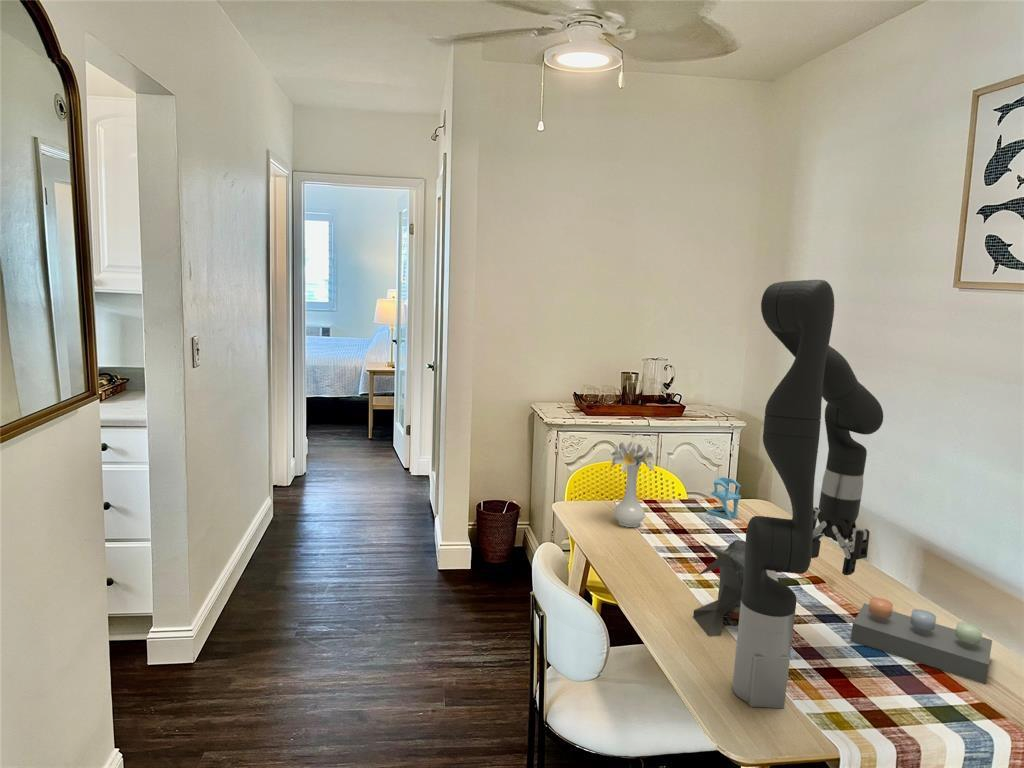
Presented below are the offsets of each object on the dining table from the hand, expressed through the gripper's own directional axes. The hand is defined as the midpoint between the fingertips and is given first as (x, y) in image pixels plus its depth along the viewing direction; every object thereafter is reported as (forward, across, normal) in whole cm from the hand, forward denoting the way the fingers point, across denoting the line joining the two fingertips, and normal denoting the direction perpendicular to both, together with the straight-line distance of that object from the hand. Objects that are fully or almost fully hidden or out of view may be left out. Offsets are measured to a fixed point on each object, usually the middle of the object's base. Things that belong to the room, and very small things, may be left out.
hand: (829, 565), depth 147 cm
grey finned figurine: (+17, +13, +13) cm, 25 cm away
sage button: (+10, -18, -20) cm, 29 cm away
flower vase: (+19, +71, 0) cm, 74 cm away
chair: (+19, +67, -34) cm, 78 cm away
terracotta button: (+11, -4, -12) cm, 17 cm away
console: (+16, -12, -16) cm, 26 cm away
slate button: (+11, -11, -16) cm, 22 cm away
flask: (+18, +25, -9) cm, 32 cm away
